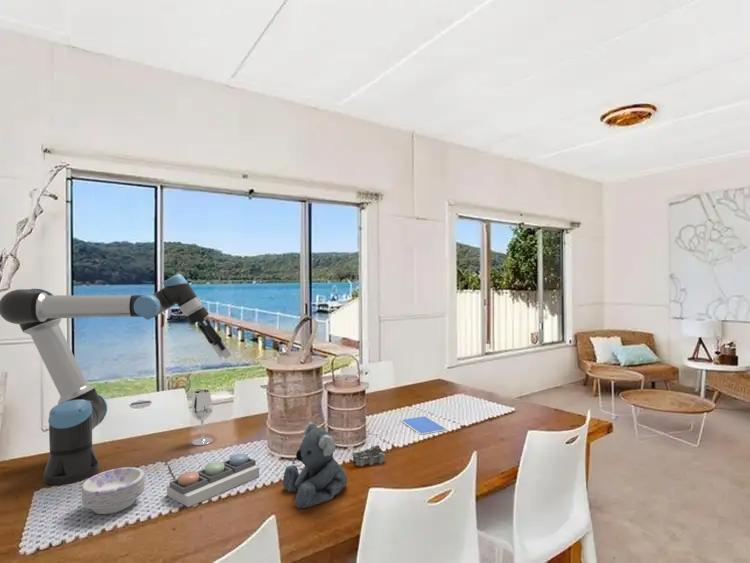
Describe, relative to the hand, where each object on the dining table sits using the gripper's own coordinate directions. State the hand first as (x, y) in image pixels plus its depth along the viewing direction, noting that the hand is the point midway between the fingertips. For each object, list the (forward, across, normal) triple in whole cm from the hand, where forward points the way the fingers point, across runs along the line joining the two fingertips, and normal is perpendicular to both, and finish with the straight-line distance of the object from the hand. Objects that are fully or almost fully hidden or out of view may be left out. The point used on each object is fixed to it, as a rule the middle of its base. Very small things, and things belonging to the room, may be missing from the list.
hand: (225, 356), depth 172 cm
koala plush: (+43, -52, +5) cm, 68 cm away
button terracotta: (+21, -36, +32) cm, 52 cm away
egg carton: (+54, -40, -15) cm, 69 cm away
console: (+28, -32, +27) cm, 50 cm away
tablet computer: (+71, -19, -48) cm, 87 cm away
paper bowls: (+14, -32, +50) cm, 61 cm away
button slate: (+28, -29, +18) cm, 44 cm away
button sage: (+24, -33, +25) cm, 48 cm away
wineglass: (+24, +9, +24) cm, 36 cm away
